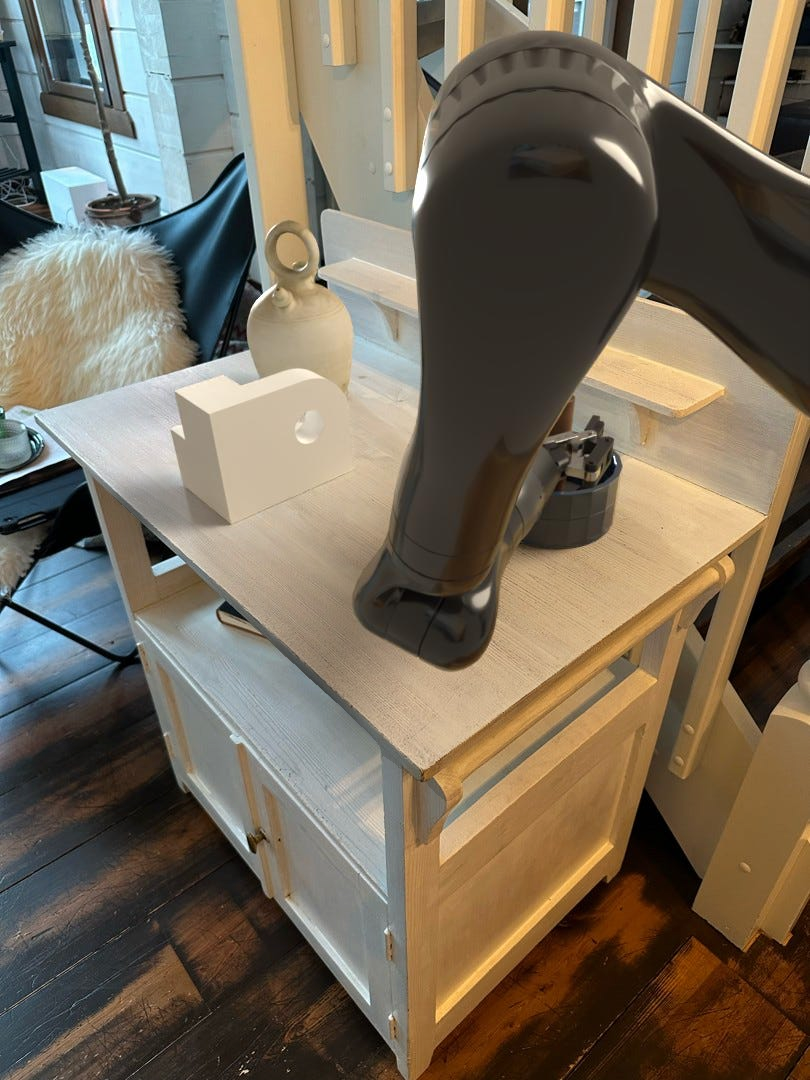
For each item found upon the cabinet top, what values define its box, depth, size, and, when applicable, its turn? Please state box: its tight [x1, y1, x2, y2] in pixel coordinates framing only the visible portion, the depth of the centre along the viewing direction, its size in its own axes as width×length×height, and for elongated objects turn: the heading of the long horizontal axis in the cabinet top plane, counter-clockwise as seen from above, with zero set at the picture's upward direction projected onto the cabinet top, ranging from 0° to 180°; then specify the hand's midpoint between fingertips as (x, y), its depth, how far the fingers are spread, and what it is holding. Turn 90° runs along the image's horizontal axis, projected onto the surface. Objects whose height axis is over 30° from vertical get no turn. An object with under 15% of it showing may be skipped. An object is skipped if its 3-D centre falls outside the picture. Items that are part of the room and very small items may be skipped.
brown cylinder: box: [548, 394, 581, 492], centre depth 84 cm, size 5×4×14 cm
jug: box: [246, 219, 355, 397], centre depth 108 cm, size 15×16×25 cm
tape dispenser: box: [169, 368, 355, 525], centre depth 92 cm, size 18×12×14 cm, turn 131°
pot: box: [520, 430, 624, 550], centre depth 86 cm, size 14×14×7 cm
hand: (554, 416), depth 78 cm, fingers open, 8 cm apart
